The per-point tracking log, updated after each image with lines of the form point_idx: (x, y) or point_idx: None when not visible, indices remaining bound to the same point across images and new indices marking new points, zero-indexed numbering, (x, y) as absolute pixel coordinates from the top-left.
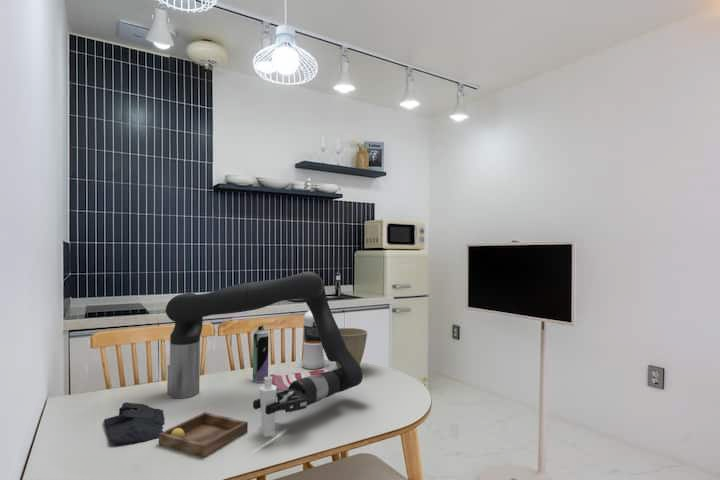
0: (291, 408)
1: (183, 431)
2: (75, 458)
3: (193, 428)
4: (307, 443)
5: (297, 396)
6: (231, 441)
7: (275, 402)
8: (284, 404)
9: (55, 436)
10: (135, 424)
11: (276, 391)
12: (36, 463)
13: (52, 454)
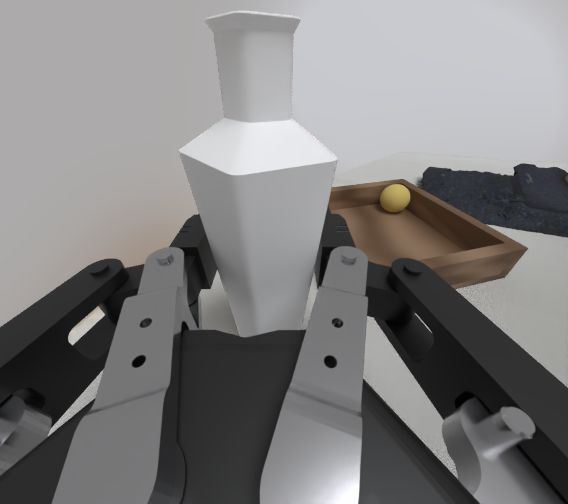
0: (104, 340)
1: (392, 196)
2: (413, 165)
3: (451, 239)
4: (60, 424)
5: (6, 475)
6: None
7: (196, 235)
8: (132, 267)
9: (506, 164)
10: (472, 172)
11: (232, 218)
12: (420, 154)
13: (439, 159)
